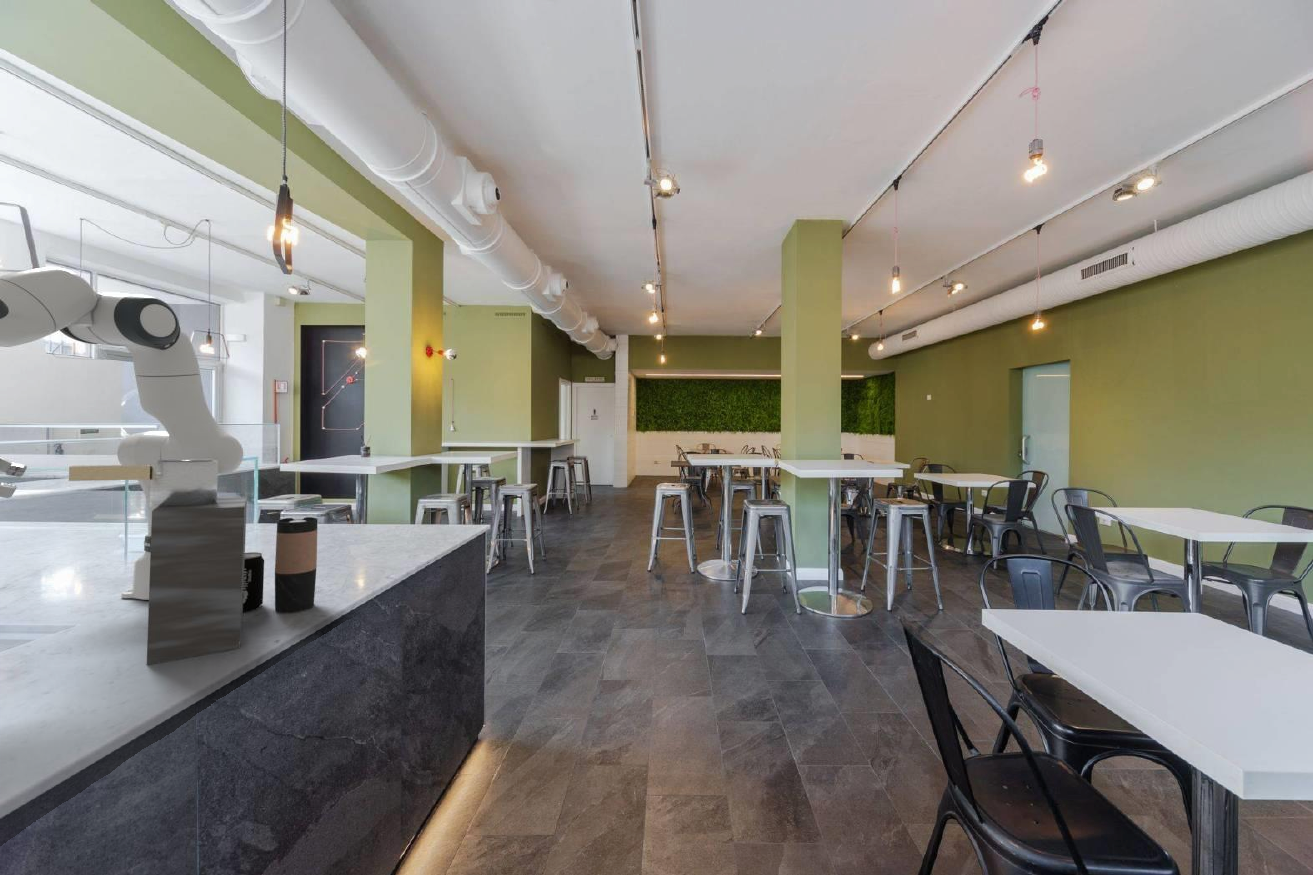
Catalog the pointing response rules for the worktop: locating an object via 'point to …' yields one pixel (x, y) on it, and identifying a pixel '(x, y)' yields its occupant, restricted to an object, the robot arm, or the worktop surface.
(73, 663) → the worktop surface
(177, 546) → the stand
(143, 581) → the robot arm
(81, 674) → the worktop surface
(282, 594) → the travel mug
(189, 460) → the milk pan
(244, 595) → the beverage can
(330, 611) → the worktop surface
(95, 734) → the worktop surface
